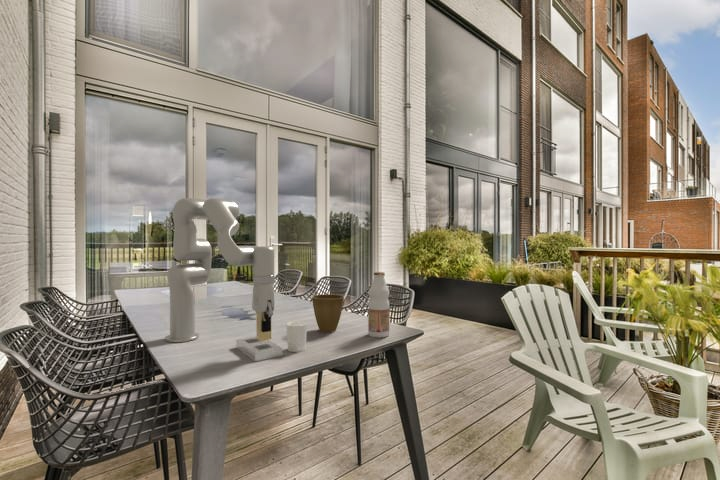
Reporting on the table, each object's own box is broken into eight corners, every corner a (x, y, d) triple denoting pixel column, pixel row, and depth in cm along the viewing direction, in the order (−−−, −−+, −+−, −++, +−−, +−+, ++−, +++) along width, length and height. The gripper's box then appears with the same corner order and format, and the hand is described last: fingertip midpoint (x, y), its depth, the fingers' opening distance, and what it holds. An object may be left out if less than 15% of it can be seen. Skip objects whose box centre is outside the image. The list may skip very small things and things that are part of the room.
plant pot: (343, 335, 160) (343, 299, 160) (309, 334, 160) (309, 298, 160) (344, 326, 175) (345, 293, 175) (314, 326, 175) (314, 293, 175)
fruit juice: (366, 337, 157) (366, 272, 157) (370, 331, 166) (370, 271, 166) (388, 338, 155) (388, 273, 155) (390, 333, 164) (390, 271, 164)
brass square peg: (255, 338, 132) (255, 309, 132) (267, 336, 135) (267, 307, 135) (260, 341, 128) (260, 311, 129) (272, 339, 131) (272, 309, 131)
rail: (236, 347, 141) (236, 339, 141) (260, 343, 147) (260, 335, 147) (255, 361, 125) (255, 352, 125) (281, 356, 131) (282, 347, 131)
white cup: (289, 353, 134) (289, 326, 134) (283, 348, 141) (283, 322, 141) (309, 350, 137) (309, 324, 137) (303, 345, 144) (303, 320, 144)
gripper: (245, 278, 136) (245, 327, 136) (262, 283, 123) (263, 336, 123) (264, 277, 141) (264, 324, 141) (283, 281, 127) (283, 333, 127)
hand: (263, 329), depth 132 cm, fingers closed on brass square peg, 4 cm apart
